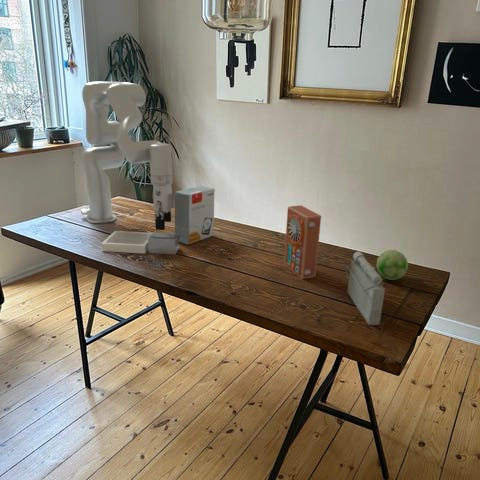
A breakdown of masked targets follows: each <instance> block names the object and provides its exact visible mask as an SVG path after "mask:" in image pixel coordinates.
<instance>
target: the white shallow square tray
mask: <svg viewBox="0 0 480 480" xmlns="http://www.w3.org/2000/svg"><path fill="white" fill-rule="evenodd" d="M151 233H152V232H142V231H141V232H140V231H139V232H138V231H123V230H122V231H120V230H114V231H113V232H112V233H111V234H110V235H109V236H107V237H106V239H105V240H103V242H101V250H102V252H113V253H126V254H127V253H129V254H132V253H133V254H143V255H144V254H146V253H147V252H148V237H149V236H150V234H151Z"/></svg>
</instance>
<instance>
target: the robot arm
mask: <svg viewBox="0 0 480 480" xmlns="http://www.w3.org/2000/svg"><path fill="white" fill-rule="evenodd" d="M81 93H82V101H83V104H84V109H85V138H86V142H87V143H88V144H89V145H91V146H95V147H89V148H87V149H85V150H84V151H83V152H82V153H81V154H82V155H81V158H82V159H81V160H82V164H83V167H84V172H85V177H86V179H85V180H86V188H87V189H86V190H87V199H88V209H87V208H82V209H80V213H81V215H86V222H88V223H92V224H106V223H111V222H114V221H115V220H117V219H116V218H117V216H116V214H115V213H113V208H112V206H113V205H112V195H111V191H112V190H111V180H110V178H109V176H108V175H107V174H106V172H105V171H106V170H109V169H110V170H111V169H117V168H120V167H122V166H123V164H124V161H125V159H126V161H127V162H129V163H131V164H134V165H135V164H136V165H137V164H144V163H149V168H150V169H149V170H150V172H149V173H150V184H151V185H152V186H153V187H152V188H153V193H152V197H153V211H154V219H155V230H156V231H165V230H166V223H171V222H172V211H171V210H172V208H173V207H174V198H173V188H172V184H173V183H174V182H173V163H172V161H173V160H172V147H171V145H170V144H169V143H166V142H160V141H159V140H157V139H155V140H154V139H152V140H141V141H139V140H138V141H133V140H132V138H131V136H130V135H129V132H130V131H132V130H133V129H135V128H136V127H138V126H139V125H140V124H141V123H142V121H143V114H142V112H141V111H140V108H139V107H142V106H144V105H145V103H146V100H147V96H146V92H145V90H144V88H143V86H141V85H140V84H138V83H134V82H133V83H131V82H127V81H126V82H125V81H123V82H122V81H91V82H87V83H85V84H84V86H83V87H82V92H81ZM105 105H110V107H111V109H112V111H113V112H114V114H115V116H116V119H117V120H118V121H117V120H108V118H109V116H108V115H109V113H108V109H107V107H106V106H105ZM104 170H105V171H104Z"/></svg>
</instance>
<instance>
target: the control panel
mask: <svg viewBox="0 0 480 480" xmlns="http://www.w3.org/2000/svg"><path fill="white" fill-rule="evenodd" d="M286 215H287V217H286V227H285V231H286V232H285V243H284V258H283V259H284V260H283V265H284V267H286V268H287V269H288V270H290V271H291V272H292V273H294V274H295V275H296V276H298V277H299V278H300V279H301V280H303V279H309V278H315V277H316V275H317V264H318V263H317V262H318V254H319V245H320V244H319V243H320V233H321V222H322V215H321V214H319V213H317V212H315V211H314V210H311V209H309V208H307V207H305V206H303V205H289V206H288V207H287V214H286Z"/></svg>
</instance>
